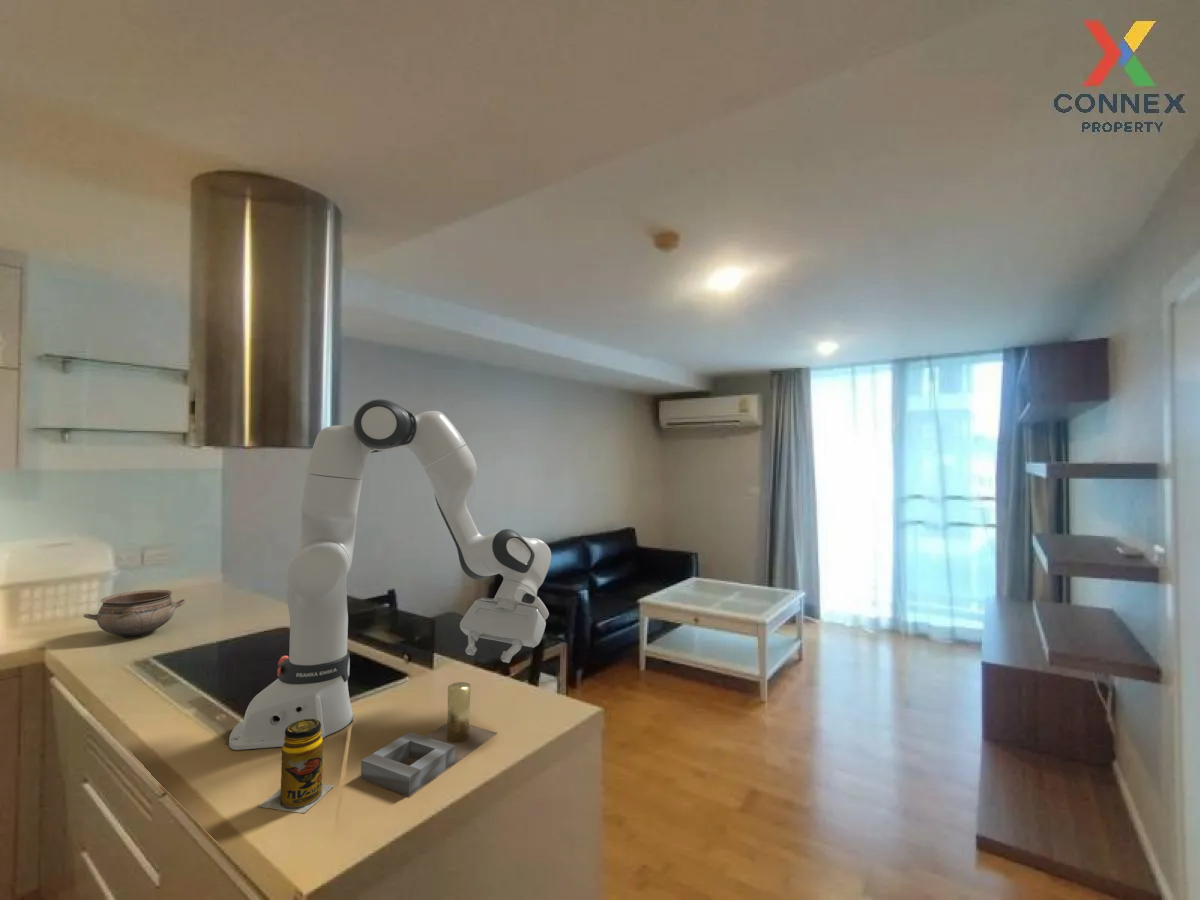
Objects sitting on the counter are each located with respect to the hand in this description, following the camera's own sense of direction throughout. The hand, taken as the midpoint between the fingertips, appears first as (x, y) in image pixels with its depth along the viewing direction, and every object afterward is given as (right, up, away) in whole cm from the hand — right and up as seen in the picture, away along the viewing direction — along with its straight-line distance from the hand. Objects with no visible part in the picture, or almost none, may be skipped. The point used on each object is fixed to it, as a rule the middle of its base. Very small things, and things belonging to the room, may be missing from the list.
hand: (486, 657), depth 116 cm
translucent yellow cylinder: (-4, -13, -8) cm, 16 cm away
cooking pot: (-124, -14, +55) cm, 136 cm away
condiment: (-26, -13, -27) cm, 39 cm away
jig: (-7, -13, -15) cm, 21 cm away
